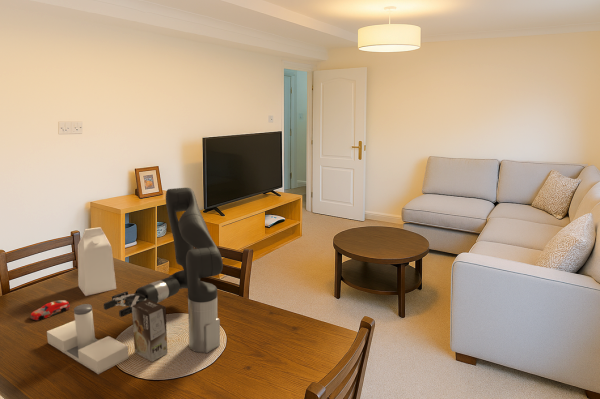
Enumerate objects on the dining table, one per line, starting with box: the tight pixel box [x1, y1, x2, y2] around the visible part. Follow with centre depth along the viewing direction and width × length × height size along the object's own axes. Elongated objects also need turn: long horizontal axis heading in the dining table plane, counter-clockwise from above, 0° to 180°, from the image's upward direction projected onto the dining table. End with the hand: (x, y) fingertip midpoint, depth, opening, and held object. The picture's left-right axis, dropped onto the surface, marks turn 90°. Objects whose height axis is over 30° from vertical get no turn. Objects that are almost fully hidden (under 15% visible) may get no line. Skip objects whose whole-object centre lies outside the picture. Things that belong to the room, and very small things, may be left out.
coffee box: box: [131, 299, 168, 362], centre depth 134 cm, size 9×6×16 cm
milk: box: [77, 226, 117, 297], centre depth 178 cm, size 12×12×26 cm
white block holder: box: [46, 319, 129, 375], centre depth 135 cm, size 28×10×4 cm, turn 57°
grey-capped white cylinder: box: [73, 303, 96, 350], centre depth 134 cm, size 5×5×14 cm
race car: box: [29, 299, 71, 321], centre depth 158 cm, size 13×5×4 cm, turn 142°
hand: (111, 310), depth 141 cm, fingers open, 8 cm apart
